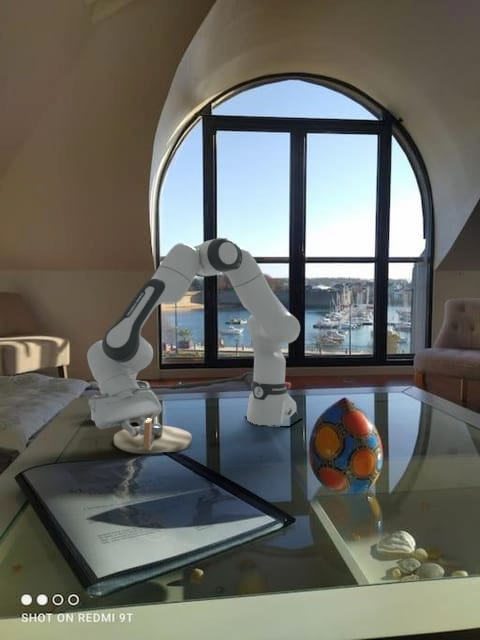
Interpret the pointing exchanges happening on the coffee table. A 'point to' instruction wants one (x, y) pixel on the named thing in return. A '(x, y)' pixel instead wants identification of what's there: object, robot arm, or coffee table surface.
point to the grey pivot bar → (151, 432)
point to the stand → (167, 442)
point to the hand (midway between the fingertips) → (139, 434)
